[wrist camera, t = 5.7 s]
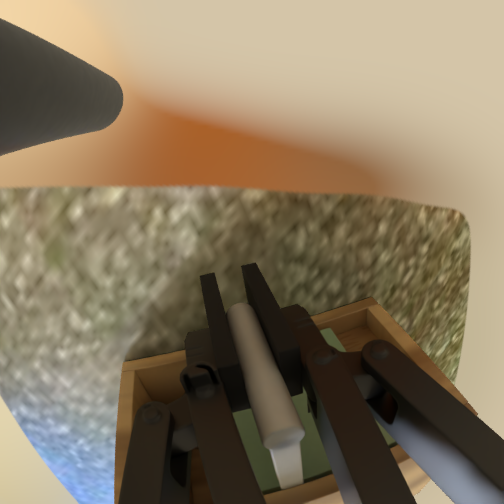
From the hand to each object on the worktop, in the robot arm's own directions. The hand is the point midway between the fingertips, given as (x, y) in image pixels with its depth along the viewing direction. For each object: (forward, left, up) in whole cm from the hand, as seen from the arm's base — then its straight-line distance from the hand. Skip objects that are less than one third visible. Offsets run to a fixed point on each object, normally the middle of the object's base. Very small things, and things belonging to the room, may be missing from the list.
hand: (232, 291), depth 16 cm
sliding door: (+3, -1, -1) cm, 3 cm away
